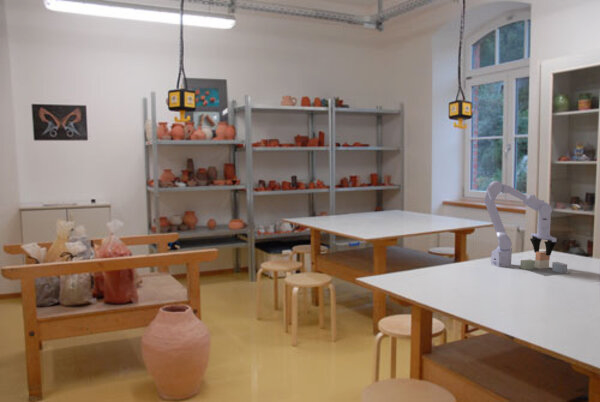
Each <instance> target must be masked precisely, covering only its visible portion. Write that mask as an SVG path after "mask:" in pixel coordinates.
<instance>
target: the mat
mask: <svg viewBox="0 0 600 402" xmlns="http://www.w3.org/2000/svg"><path fill="white" fill-rule="evenodd" d="M519 269H521V270H524V271H527V272H530V273H534V274H537V275H540V276H542V277H543V276H544V277H549V276H559V275H560V276H561V275H569V274H571V273H569V272H567V273H560V272H557V271H553V270H552V267H549V268H542V269H539V268H535V269H522V268H520V267H519Z"/></svg>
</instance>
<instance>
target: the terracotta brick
mask: <svg viewBox="0 0 600 402" xmlns="http://www.w3.org/2000/svg"><path fill="white" fill-rule="evenodd" d="M550 257H551V255H549V256H547V255H546V250H539V252H536V253H535V258H534V259H535V260H539V261H543V260H549V261H550ZM535 260H534V261H535Z"/></svg>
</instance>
